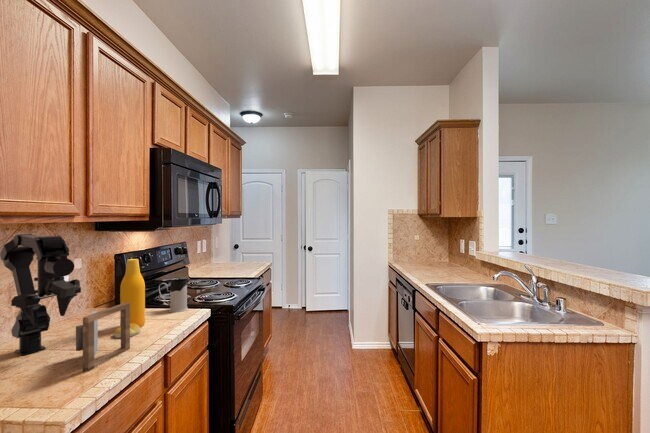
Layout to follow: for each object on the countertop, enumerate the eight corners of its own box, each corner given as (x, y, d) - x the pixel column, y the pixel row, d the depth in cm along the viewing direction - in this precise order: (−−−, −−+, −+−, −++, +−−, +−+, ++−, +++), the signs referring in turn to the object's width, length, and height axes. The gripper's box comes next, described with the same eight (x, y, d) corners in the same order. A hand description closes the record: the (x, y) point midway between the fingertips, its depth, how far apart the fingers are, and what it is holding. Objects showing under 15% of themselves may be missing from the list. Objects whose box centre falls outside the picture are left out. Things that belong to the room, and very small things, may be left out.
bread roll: (109, 337, 125) (109, 327, 125) (130, 329, 134) (130, 320, 134) (123, 340, 122) (123, 330, 122) (144, 332, 131) (144, 322, 131)
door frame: (82, 370, 98) (82, 317, 98) (124, 348, 115) (124, 302, 115) (88, 371, 97) (88, 317, 97) (129, 348, 114) (129, 302, 114)
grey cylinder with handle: (184, 312, 157) (184, 282, 157) (154, 312, 156) (154, 282, 156) (190, 307, 166) (190, 278, 166) (162, 307, 165) (162, 278, 165)
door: (65, 369, 98) (65, 324, 98) (78, 353, 109) (78, 312, 109) (87, 365, 100) (87, 321, 100) (97, 350, 111) (97, 310, 111)
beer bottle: (115, 330, 133) (115, 261, 133) (128, 322, 142) (128, 258, 142) (137, 330, 133) (137, 261, 133) (149, 322, 142) (149, 258, 142)
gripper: (41, 279, 95) (41, 331, 95) (94, 269, 114) (94, 312, 114) (9, 278, 97) (9, 329, 97) (67, 268, 115) (67, 311, 115)
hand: (49, 320), depth 106 cm, fingers open, 9 cm apart
